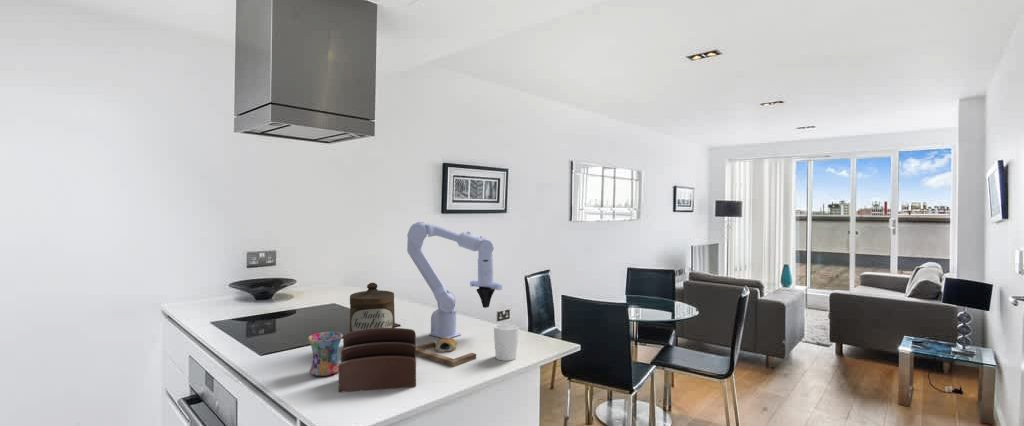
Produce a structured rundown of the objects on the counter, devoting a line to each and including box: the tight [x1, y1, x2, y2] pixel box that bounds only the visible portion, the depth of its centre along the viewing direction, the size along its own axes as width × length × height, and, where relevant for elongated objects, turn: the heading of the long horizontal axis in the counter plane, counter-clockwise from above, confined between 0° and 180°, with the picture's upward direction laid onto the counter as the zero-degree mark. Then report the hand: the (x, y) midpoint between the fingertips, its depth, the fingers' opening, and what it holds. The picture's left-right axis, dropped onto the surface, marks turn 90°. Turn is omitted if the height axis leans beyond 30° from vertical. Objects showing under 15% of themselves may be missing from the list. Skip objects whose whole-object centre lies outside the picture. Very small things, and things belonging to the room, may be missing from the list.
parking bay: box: [416, 341, 477, 368], centre depth 152 cm, size 21×10×2 cm, turn 51°
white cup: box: [493, 323, 520, 362], centre depth 150 cm, size 8×8×10 cm
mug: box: [307, 331, 344, 377], centre depth 137 cm, size 12×9×11 cm
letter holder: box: [337, 327, 417, 393], centre depth 128 cm, size 10×20×14 cm, turn 102°
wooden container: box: [349, 282, 396, 332], centre depth 160 cm, size 15×15×22 cm
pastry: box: [434, 337, 457, 353], centre depth 160 cm, size 9×7×4 cm
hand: (486, 307), depth 176 cm, fingers closed
